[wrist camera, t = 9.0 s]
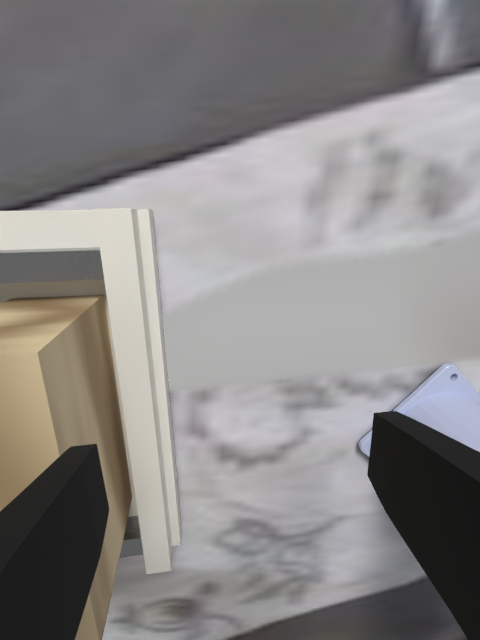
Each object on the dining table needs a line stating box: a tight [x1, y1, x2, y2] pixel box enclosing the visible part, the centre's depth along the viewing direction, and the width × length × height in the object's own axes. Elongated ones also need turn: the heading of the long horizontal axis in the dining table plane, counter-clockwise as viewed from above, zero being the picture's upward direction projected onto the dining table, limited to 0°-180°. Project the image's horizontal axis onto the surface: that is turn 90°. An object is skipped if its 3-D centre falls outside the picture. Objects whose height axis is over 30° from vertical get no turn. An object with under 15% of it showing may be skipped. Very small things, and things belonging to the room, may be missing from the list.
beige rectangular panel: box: [0, 295, 132, 640], centre depth 14 cm, size 4×12×7 cm, turn 1°
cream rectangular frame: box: [0, 208, 181, 575], centre depth 17 cm, size 20×9×3 cm, turn 1°
